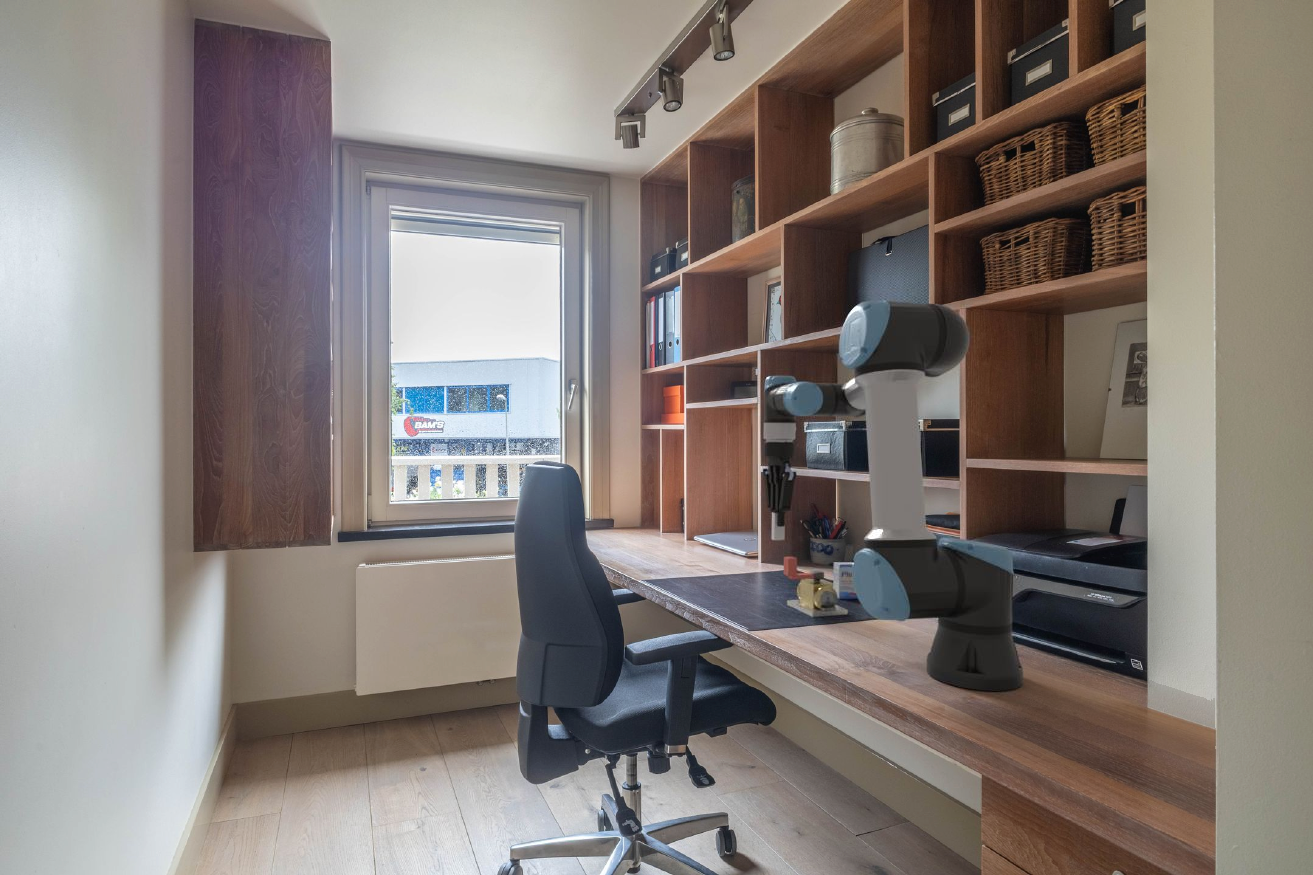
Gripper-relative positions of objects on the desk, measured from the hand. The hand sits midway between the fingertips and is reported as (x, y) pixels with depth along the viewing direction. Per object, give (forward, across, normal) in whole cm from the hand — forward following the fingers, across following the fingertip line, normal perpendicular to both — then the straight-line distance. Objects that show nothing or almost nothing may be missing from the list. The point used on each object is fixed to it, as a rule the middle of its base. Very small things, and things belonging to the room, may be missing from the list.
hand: (778, 539), depth 175 cm
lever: (+8, -6, -4) cm, 11 cm away
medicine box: (+16, +2, -22) cm, 27 cm away
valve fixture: (+16, -6, -7) cm, 18 cm away
